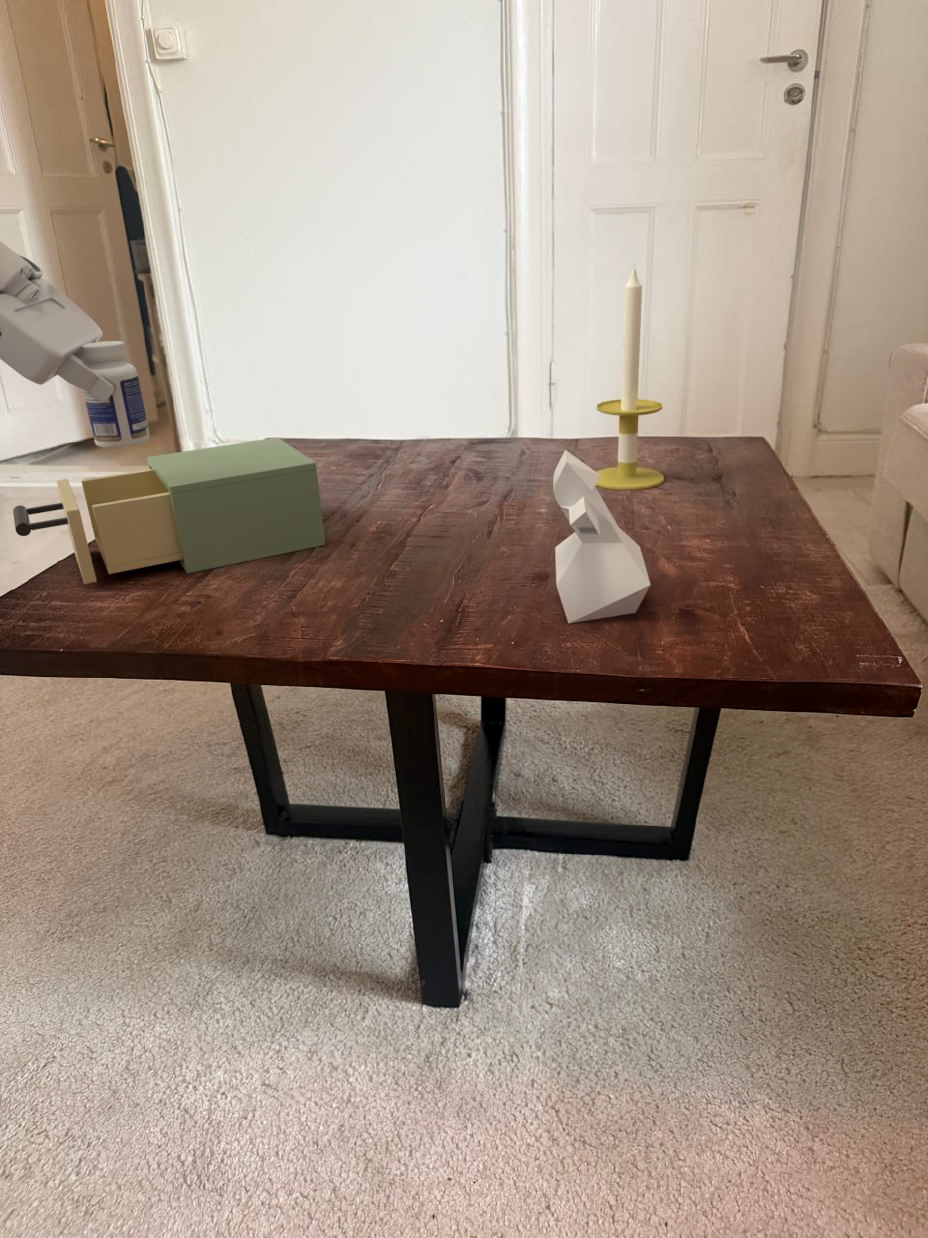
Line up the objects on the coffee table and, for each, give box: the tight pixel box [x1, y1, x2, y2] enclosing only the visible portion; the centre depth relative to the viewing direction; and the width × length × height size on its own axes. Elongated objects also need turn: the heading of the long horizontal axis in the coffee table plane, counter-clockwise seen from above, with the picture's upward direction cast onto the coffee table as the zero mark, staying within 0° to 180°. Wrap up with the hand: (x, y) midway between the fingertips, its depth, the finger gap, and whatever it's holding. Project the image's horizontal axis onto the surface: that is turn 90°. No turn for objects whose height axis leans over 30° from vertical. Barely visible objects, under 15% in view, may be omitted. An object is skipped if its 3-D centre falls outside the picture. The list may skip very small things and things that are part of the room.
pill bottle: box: [81, 340, 151, 449], centre depth 86 cm, size 5×5×10 cm
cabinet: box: [146, 437, 326, 574], centre depth 99 cm, size 16×15×10 cm
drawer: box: [12, 468, 183, 585], centre depth 94 cm, size 19×13×8 cm
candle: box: [595, 263, 665, 491], centre depth 111 cm, size 10×10×27 cm
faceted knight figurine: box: [552, 449, 651, 624], centre depth 79 cm, size 8×14×14 cm, turn 175°
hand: (118, 388), depth 86 cm, fingers closed on pill bottle, 5 cm apart
